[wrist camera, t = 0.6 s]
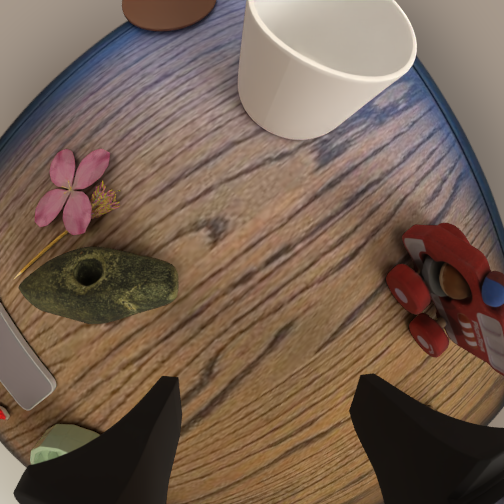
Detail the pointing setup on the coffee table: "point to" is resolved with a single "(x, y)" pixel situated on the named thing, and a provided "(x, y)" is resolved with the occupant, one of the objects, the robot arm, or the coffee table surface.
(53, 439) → the bowl
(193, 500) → the coffee table surface
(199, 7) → the brown round coaster
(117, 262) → the decorative stone
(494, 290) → the toy fire truck
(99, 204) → the decorative arrow
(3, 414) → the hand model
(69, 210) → the flower
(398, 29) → the mug
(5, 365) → the smartphone
